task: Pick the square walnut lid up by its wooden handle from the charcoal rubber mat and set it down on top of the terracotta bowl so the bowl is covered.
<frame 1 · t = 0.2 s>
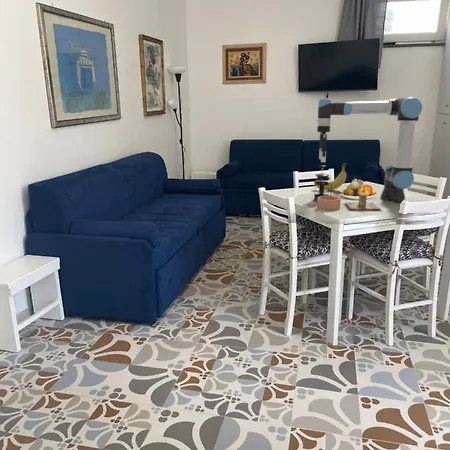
hand: (322, 160, 275), 28 cm above the table, tool pointing down, fingers open, 13 cm apart
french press: (321, 200, 294), on the table
bowl: (328, 208, 272), on the table
banana: (329, 190, 325), on the table
mat: (361, 208, 270), on the table
lid: (362, 207, 270), point 1 cm above the table, touching mat
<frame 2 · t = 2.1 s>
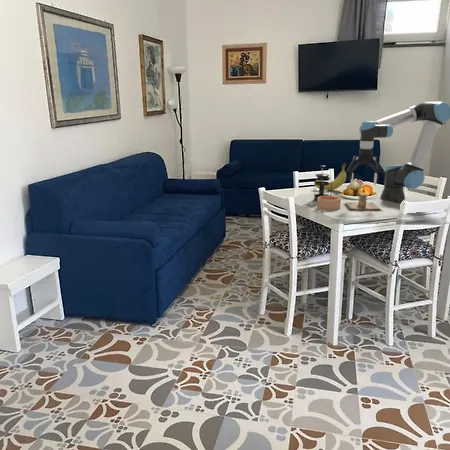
hand: (363, 184, 266), 15 cm above the table, tool pointing down, fingers open, 13 cm apart
nothing on the table moved.
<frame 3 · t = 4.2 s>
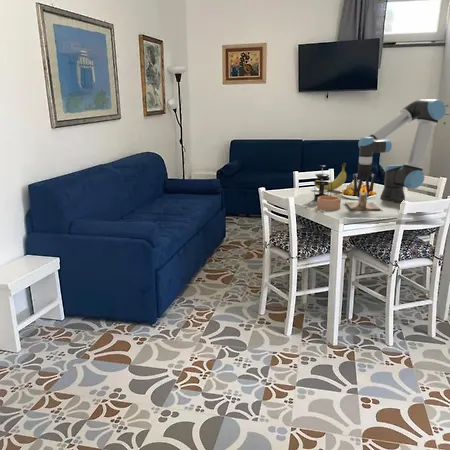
hand: (362, 202, 269), 4 cm above the table, tool pointing down, fingers closed on lid, 3 cm apart
lid: (362, 207, 270), point 1 cm above the table, touching gripper, mat
everything else where it was.
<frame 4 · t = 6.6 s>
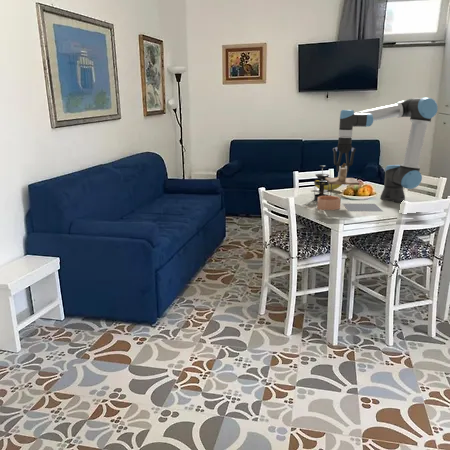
hand: (342, 177, 266), 19 cm above the table, tool pointing down, fingers closed on lid, 3 cm apart
lid: (341, 182, 266), point 16 cm above the table, touching gripper
everything else where it was.
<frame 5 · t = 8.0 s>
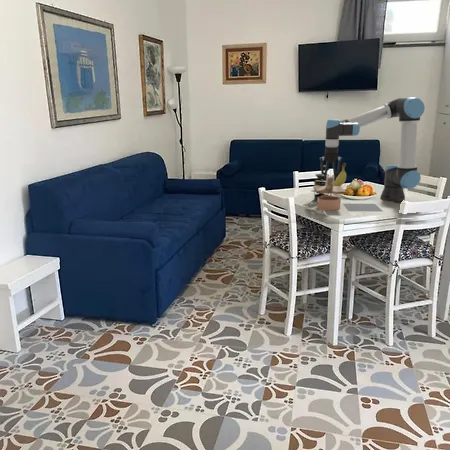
hand: (329, 185, 268), 14 cm above the table, tool pointing down, fingers closed on lid, 3 cm apart
lid: (329, 190, 269), point 11 cm above the table, touching gripper
everything else where it was.
when the fingers open (11 cm above the table, at t = 9.1 s): lid drops 1 cm, resting on bowl.
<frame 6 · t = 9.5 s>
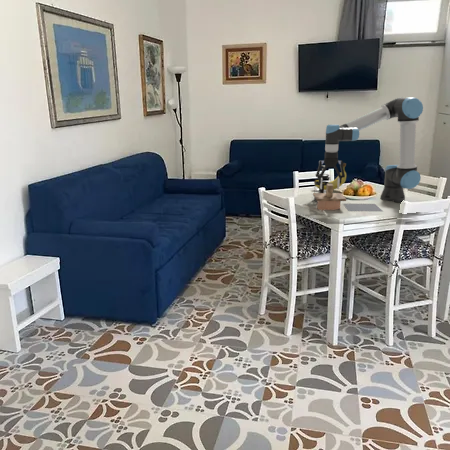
hand: (329, 188, 268), 12 cm above the table, tool pointing down, fingers open, 9 cm apart
lid: (329, 197, 270), point 6 cm above the table, touching bowl
everything else where it was.
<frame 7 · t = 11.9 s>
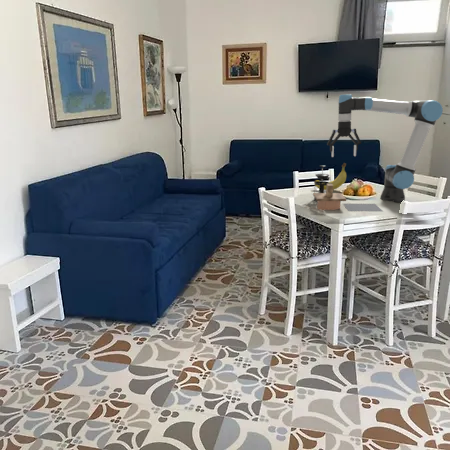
hand: (343, 156, 274), 30 cm above the table, tool pointing down, fingers open, 13 cm apart
nothing on the table moved.
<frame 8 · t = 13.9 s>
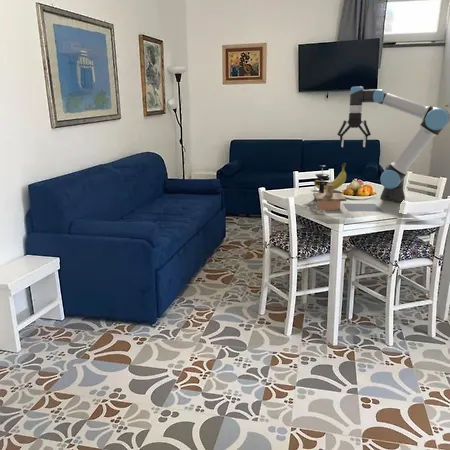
hand: (353, 146, 283), 35 cm above the table, tool pointing down, fingers open, 13 cm apart
nothing on the table moved.
at the end: lid 0.1 cm off-centre on the bowl, point 6.5 cm above the bowl's base; lid tilted 0°; the gripper is holding nothing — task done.
